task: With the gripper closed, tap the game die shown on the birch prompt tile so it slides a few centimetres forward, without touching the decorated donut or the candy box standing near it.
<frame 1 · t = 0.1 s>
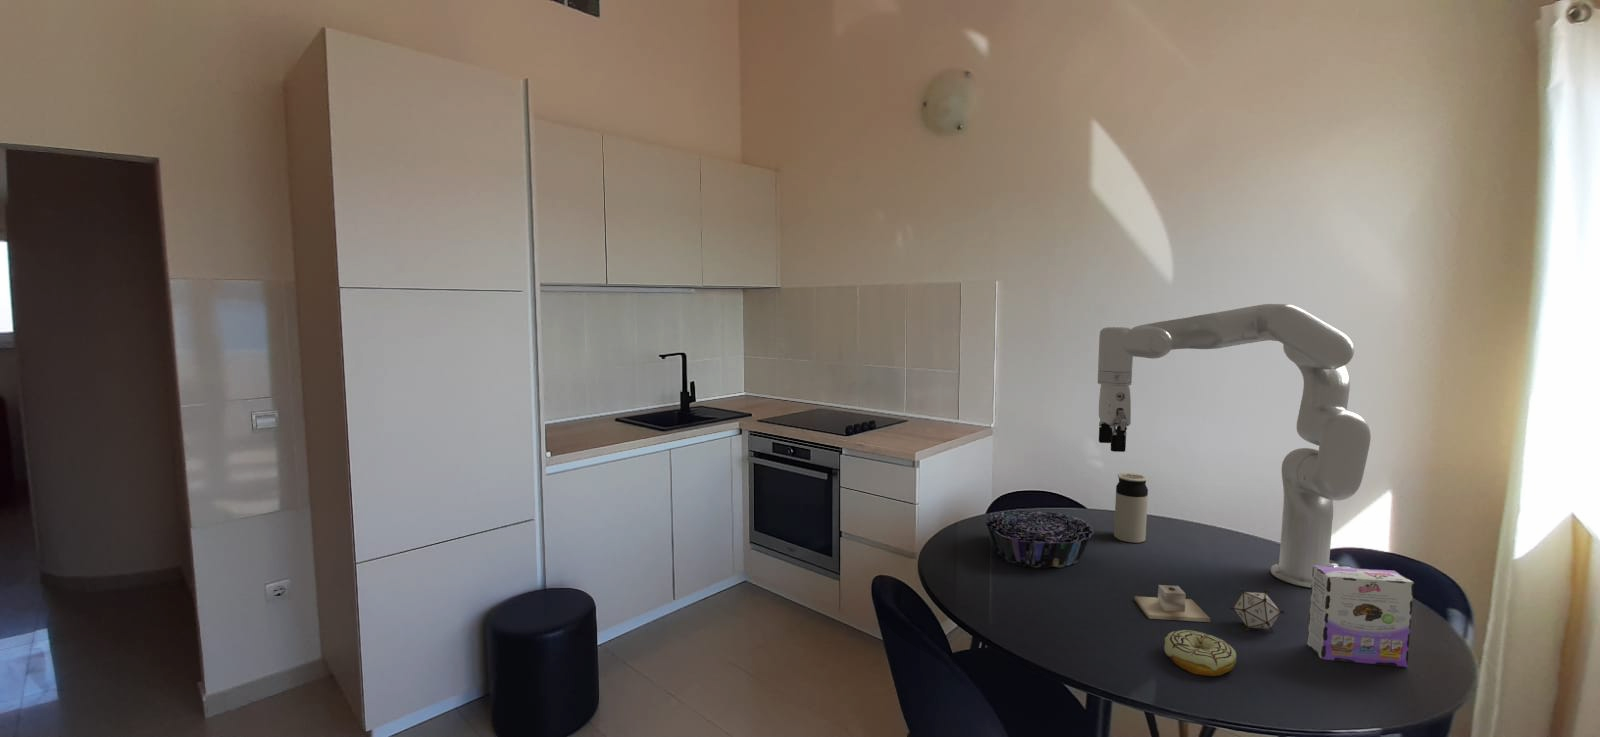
hand: (1111, 446, 164), 31 cm above the table, fingers open, 9 cm apart
decorated donut: (1198, 663, 125), on the table
game die: (1255, 629, 137), on the table
candy box: (1355, 657, 126), on the table
travel mug: (1129, 539, 188), on the table
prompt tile: (1170, 610, 145), on the table
decorative bowl: (1037, 555, 178), on the table
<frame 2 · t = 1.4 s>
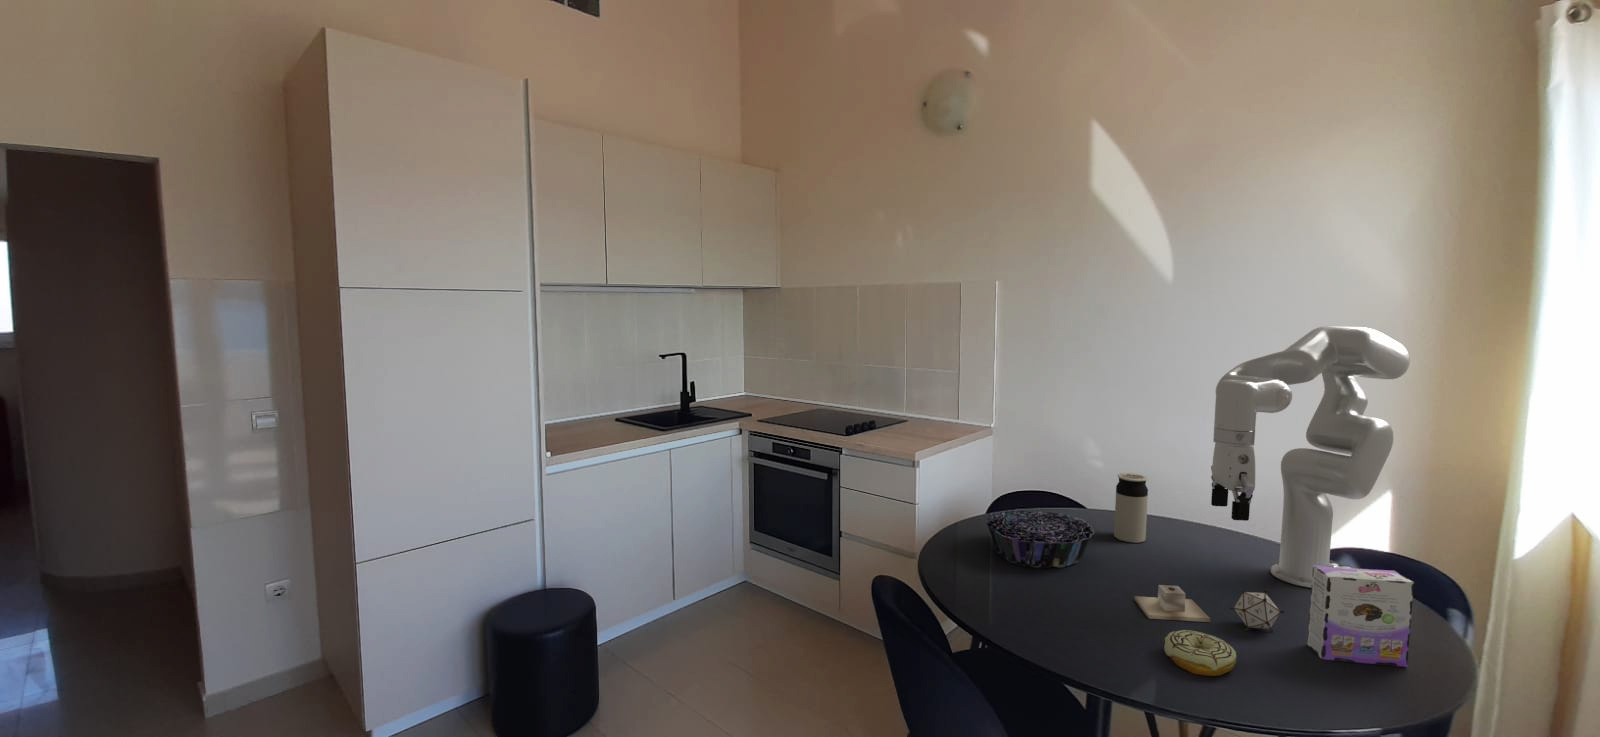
hand: (1229, 512, 147), 20 cm above the table, fingers open, 9 cm apart
nothing on the table moved.
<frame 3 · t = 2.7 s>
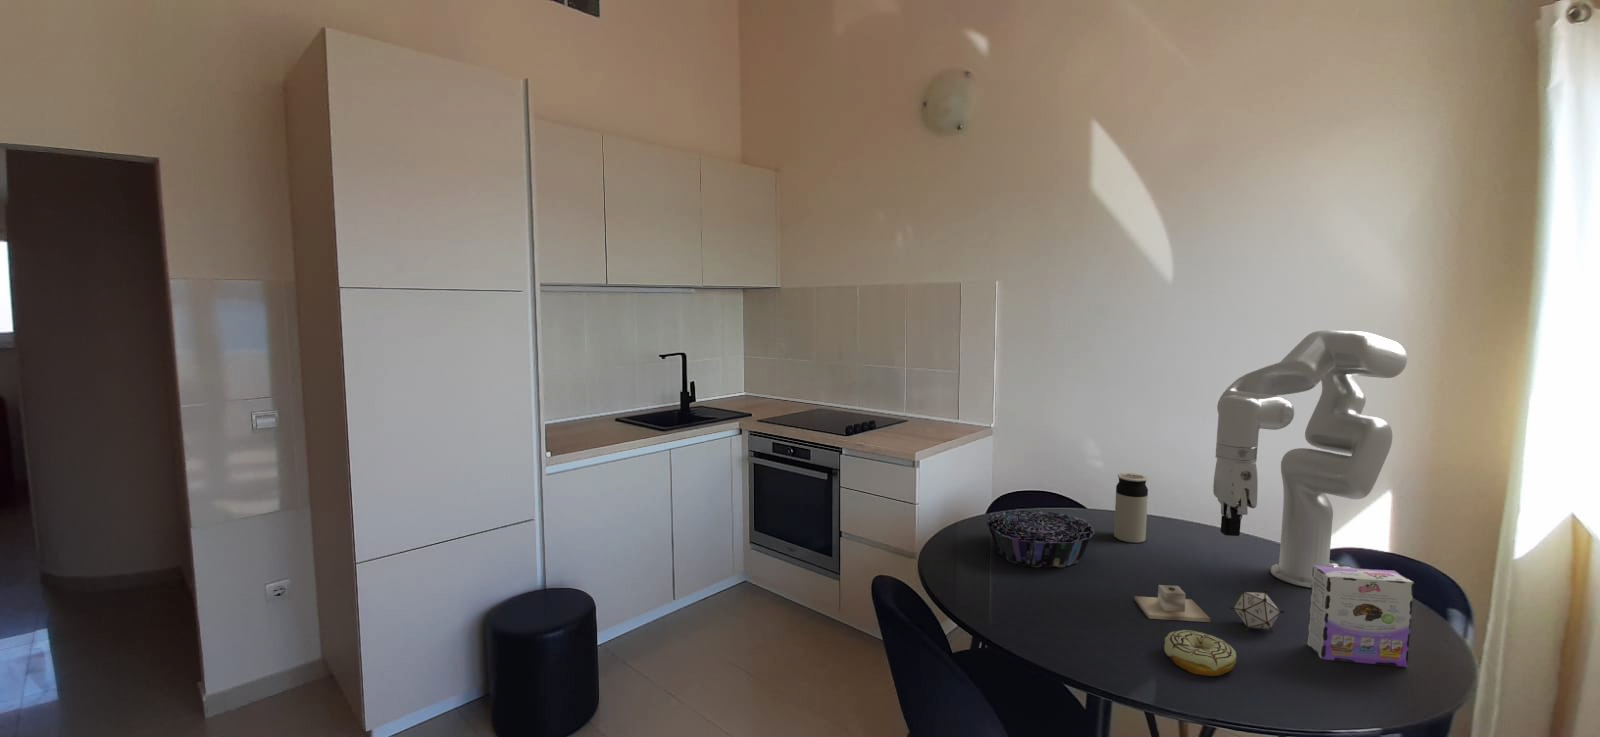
hand: (1229, 534, 147), 16 cm above the table, fingers closed
nothing on the table moved.
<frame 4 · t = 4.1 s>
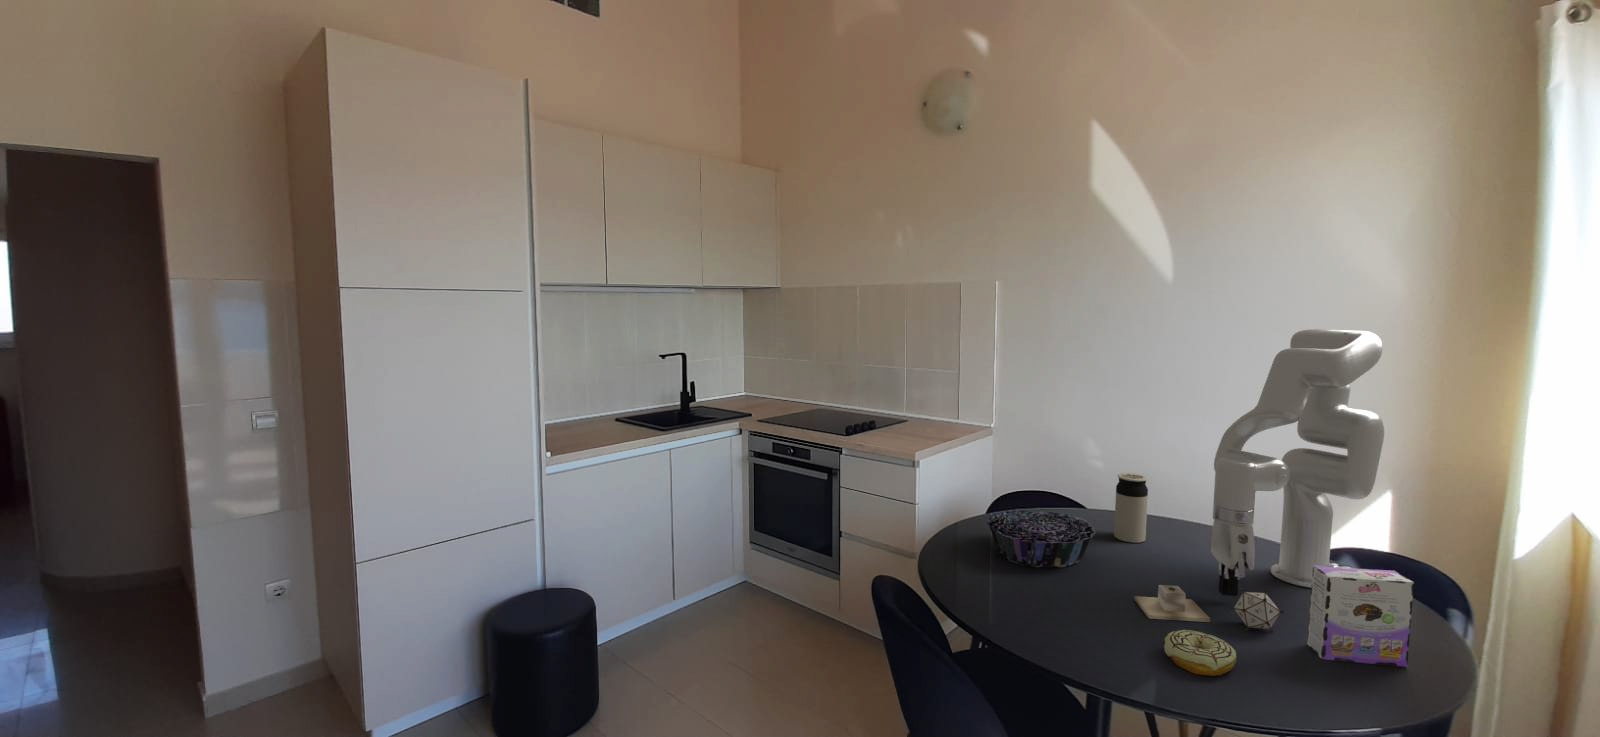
hand: (1227, 594, 148), 2 cm above the table, fingers closed
nothing on the table moved.
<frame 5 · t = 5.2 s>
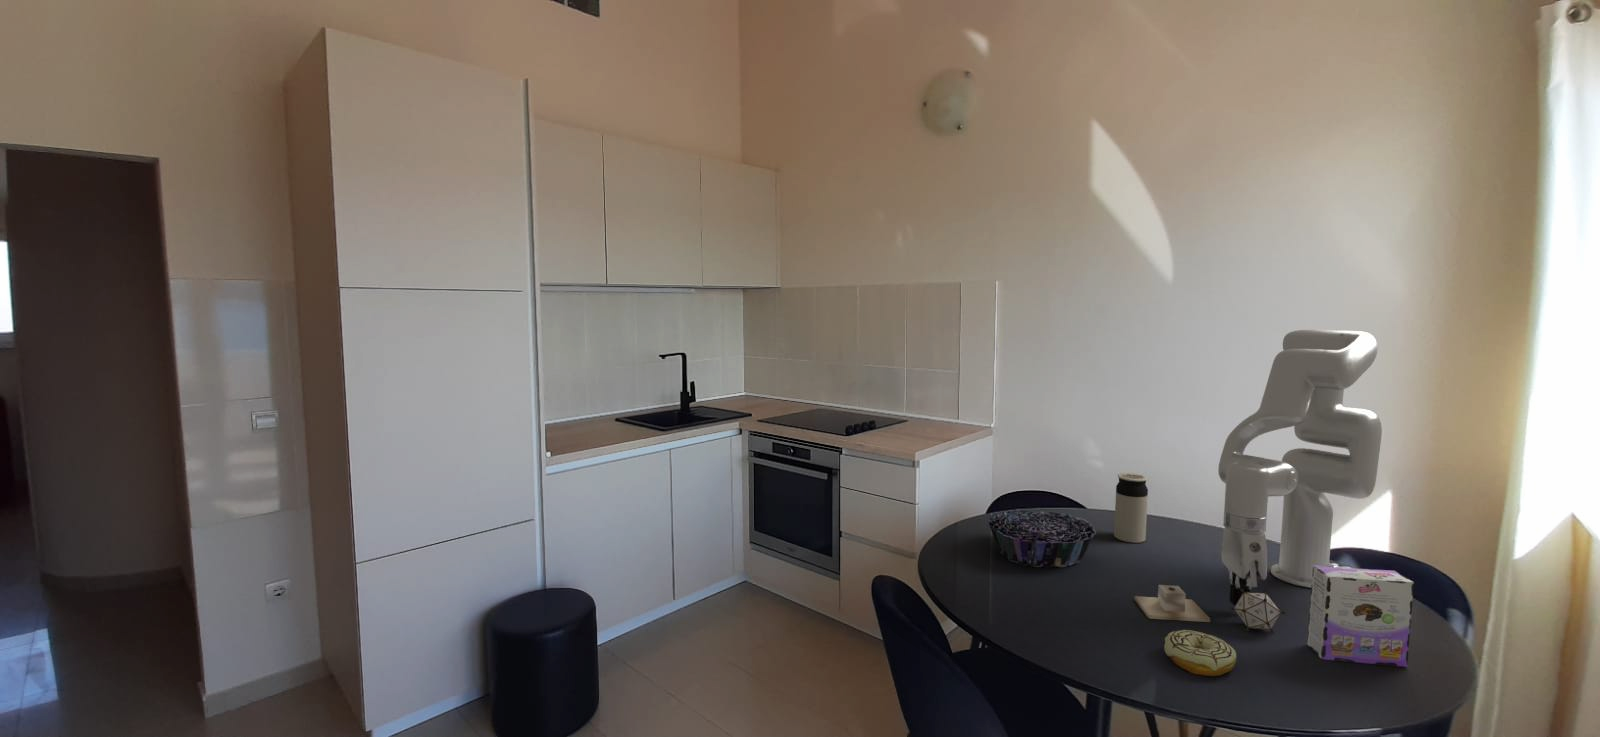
hand: (1239, 603, 143), 2 cm above the table, fingers closed
game die: (1255, 629, 137), on the table, touching gripper
everything else where it was.
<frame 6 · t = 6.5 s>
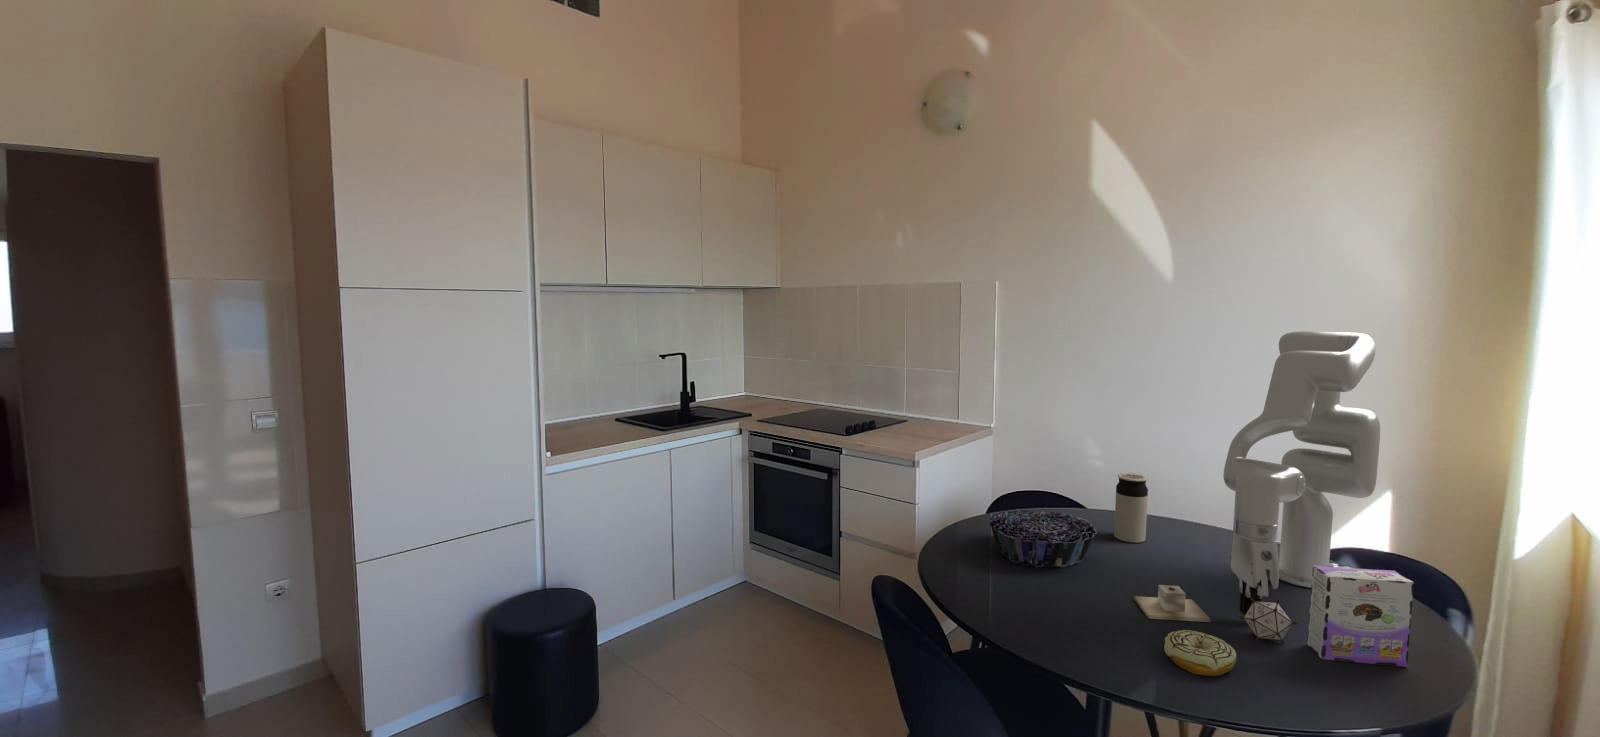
hand: (1249, 613, 139), 2 cm above the table, fingers closed
game die: (1266, 640, 133), on the table, touching gripper
everything else where it was.
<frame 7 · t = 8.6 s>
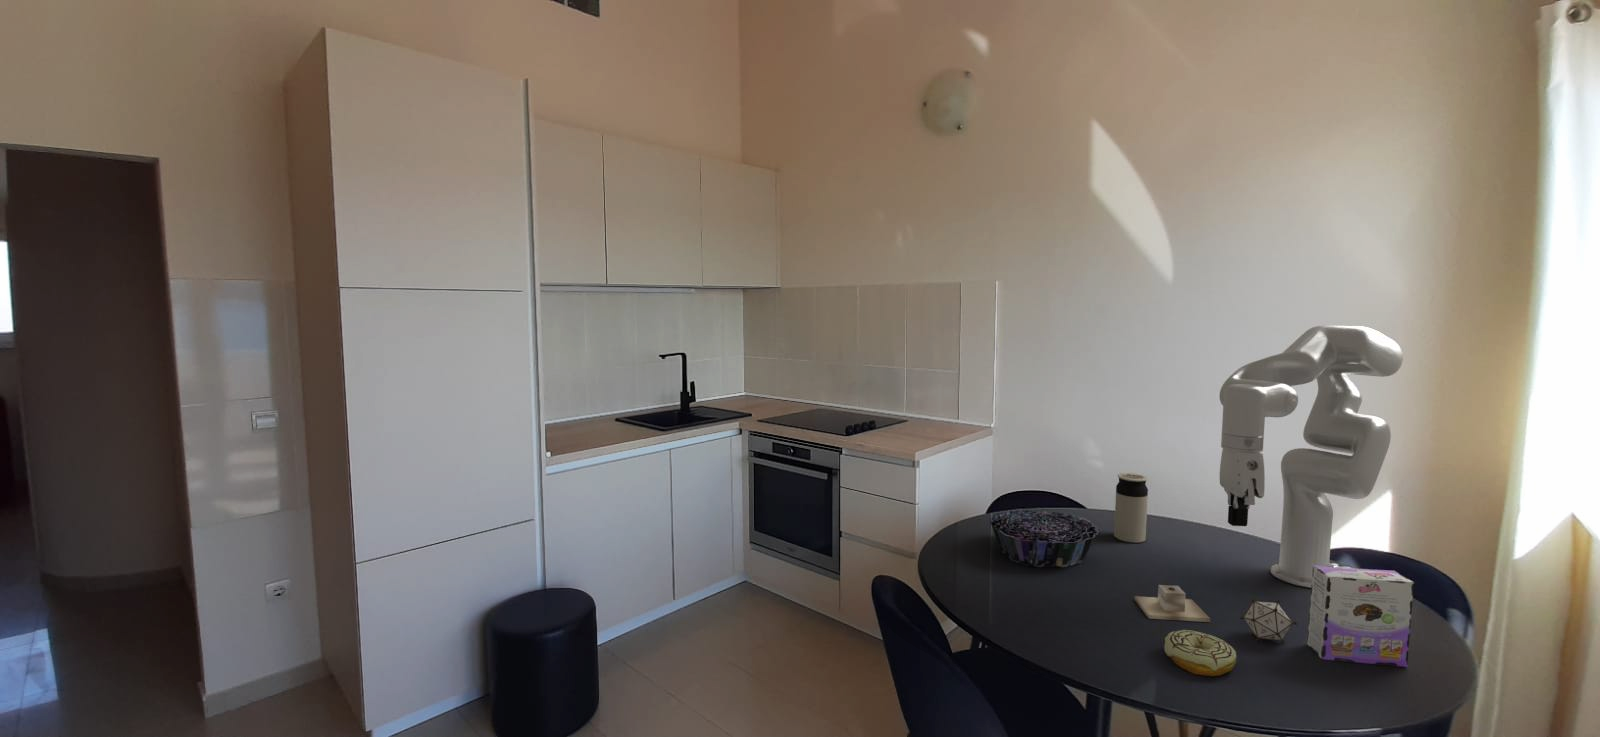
hand: (1237, 524, 145), 18 cm above the table, fingers closed
game die: (1266, 640, 133), on the table
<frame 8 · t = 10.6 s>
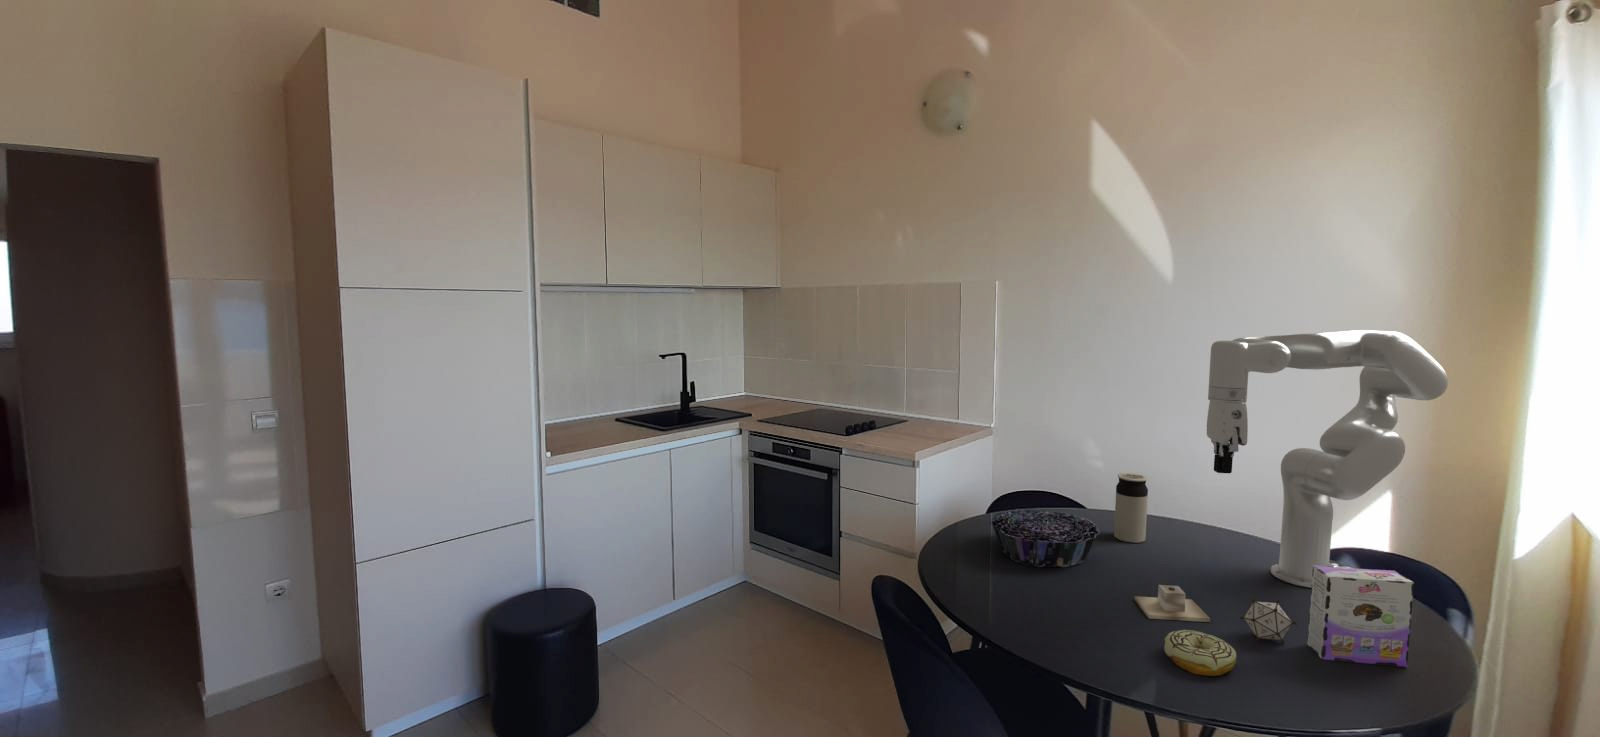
hand: (1222, 472, 155), 27 cm above the table, fingers closed
at the end: game die moved 4.5 cm from its start; decorated donut moved 0.4 cm from its start; candy box moved 0.3 cm from its start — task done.
